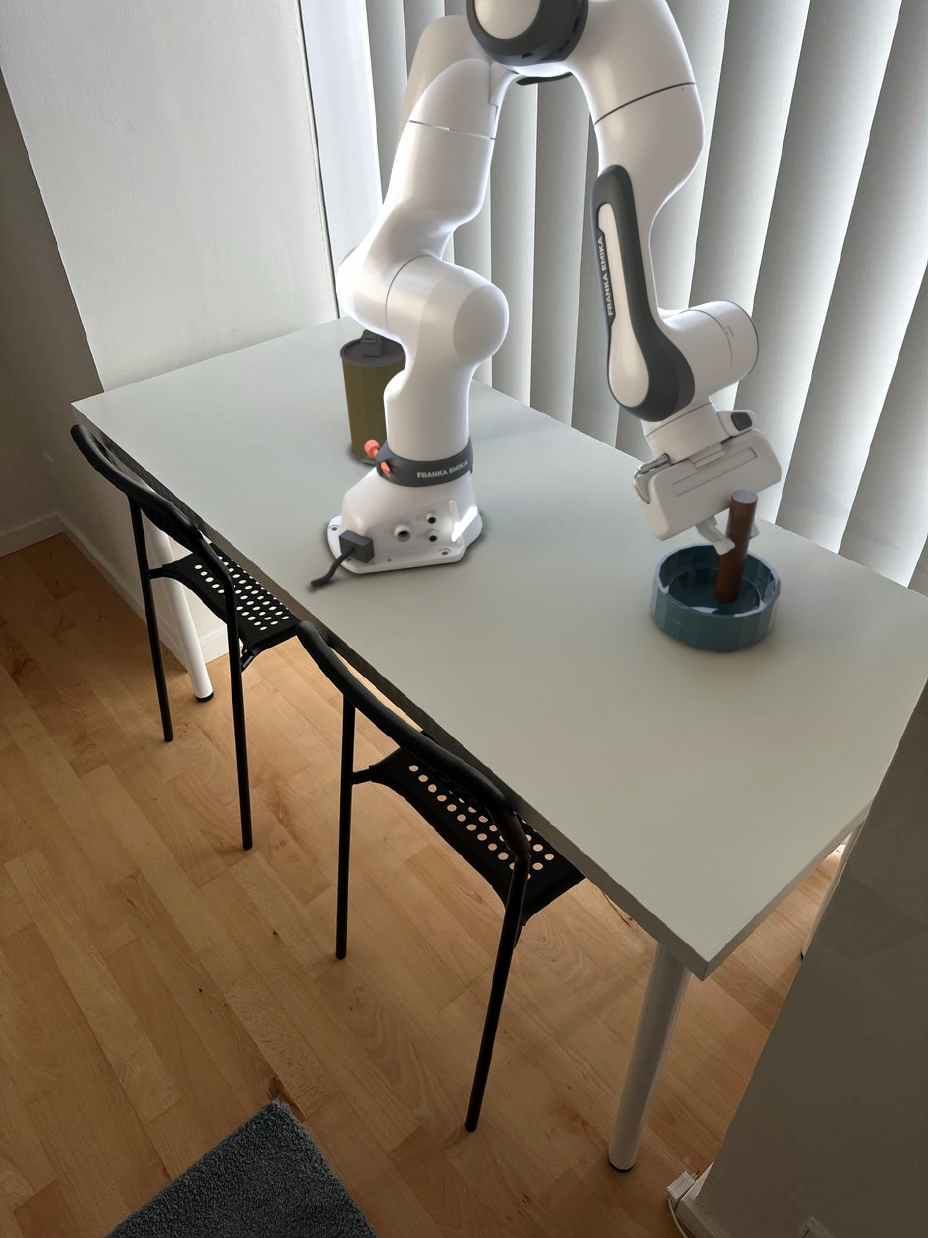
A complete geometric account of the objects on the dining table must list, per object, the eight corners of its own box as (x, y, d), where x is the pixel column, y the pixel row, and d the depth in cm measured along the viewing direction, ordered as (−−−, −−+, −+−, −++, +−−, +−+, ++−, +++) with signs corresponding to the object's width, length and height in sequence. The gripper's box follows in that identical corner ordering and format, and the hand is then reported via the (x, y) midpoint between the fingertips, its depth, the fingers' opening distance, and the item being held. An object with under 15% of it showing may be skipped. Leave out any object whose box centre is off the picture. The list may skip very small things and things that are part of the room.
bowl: (690, 668, 114) (696, 630, 110) (629, 596, 125) (632, 559, 121) (796, 636, 118) (806, 598, 114) (728, 568, 129) (735, 532, 125)
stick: (722, 606, 119) (741, 505, 109) (709, 593, 121) (726, 492, 111) (742, 600, 120) (763, 500, 110) (729, 587, 122) (748, 487, 112)
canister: (406, 467, 152) (397, 348, 139) (344, 463, 153) (329, 345, 141) (420, 434, 160) (413, 319, 147) (361, 430, 162) (348, 316, 149)
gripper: (642, 461, 107) (696, 571, 107) (762, 406, 116) (812, 508, 116) (612, 479, 113) (663, 583, 113) (728, 426, 122) (776, 522, 122)
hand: (740, 545), depth 115 cm, fingers closed on stick, 3 cm apart
